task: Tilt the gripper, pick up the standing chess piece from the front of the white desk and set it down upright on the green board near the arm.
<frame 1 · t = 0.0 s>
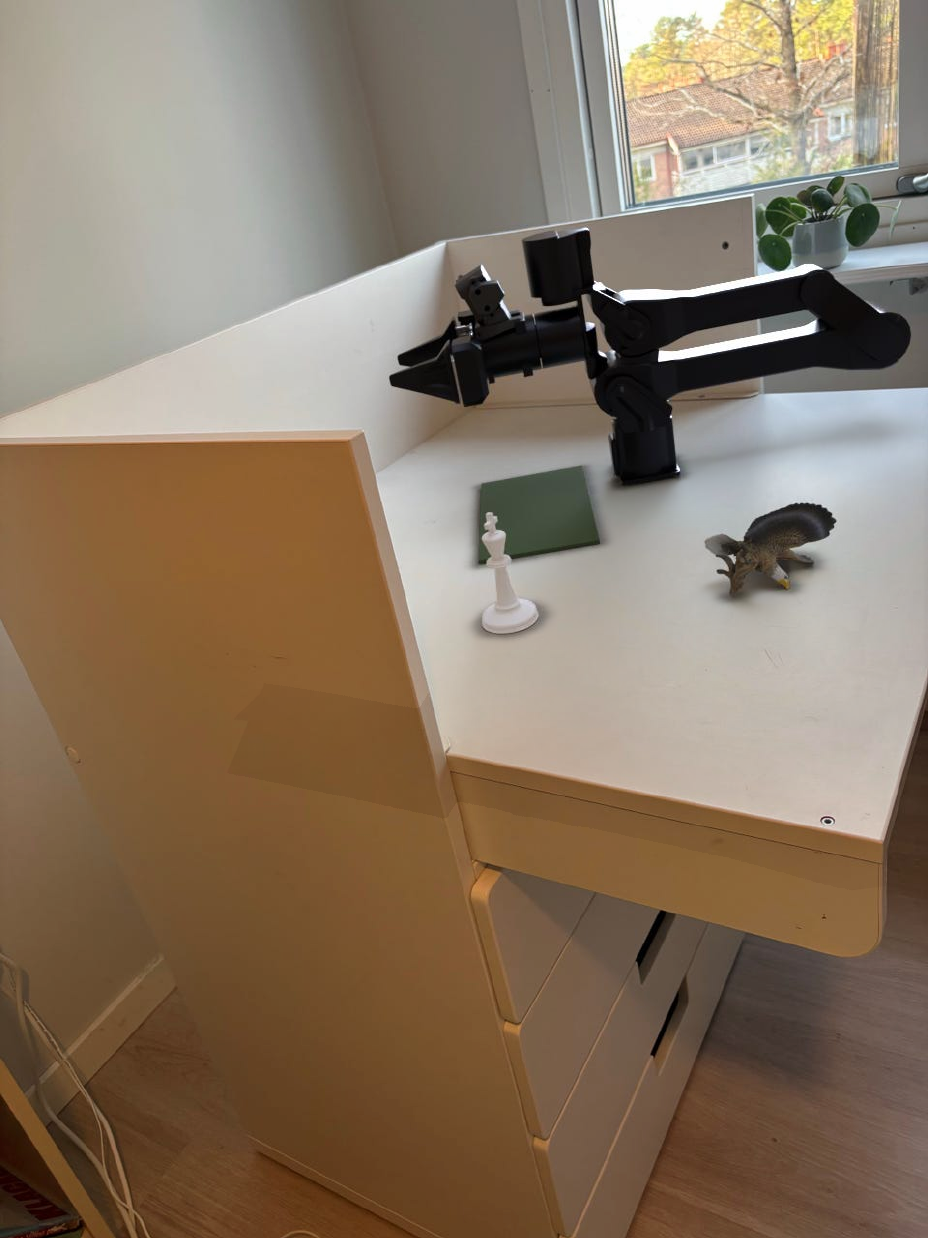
hand: (394, 370, 100), 17 cm above the table, tool horizontal, fingers open, 9 cm apart
chess piece: (510, 621, 80), on the table
eagle figurine: (771, 582, 77), on the table
green board: (535, 512, 101), on the table
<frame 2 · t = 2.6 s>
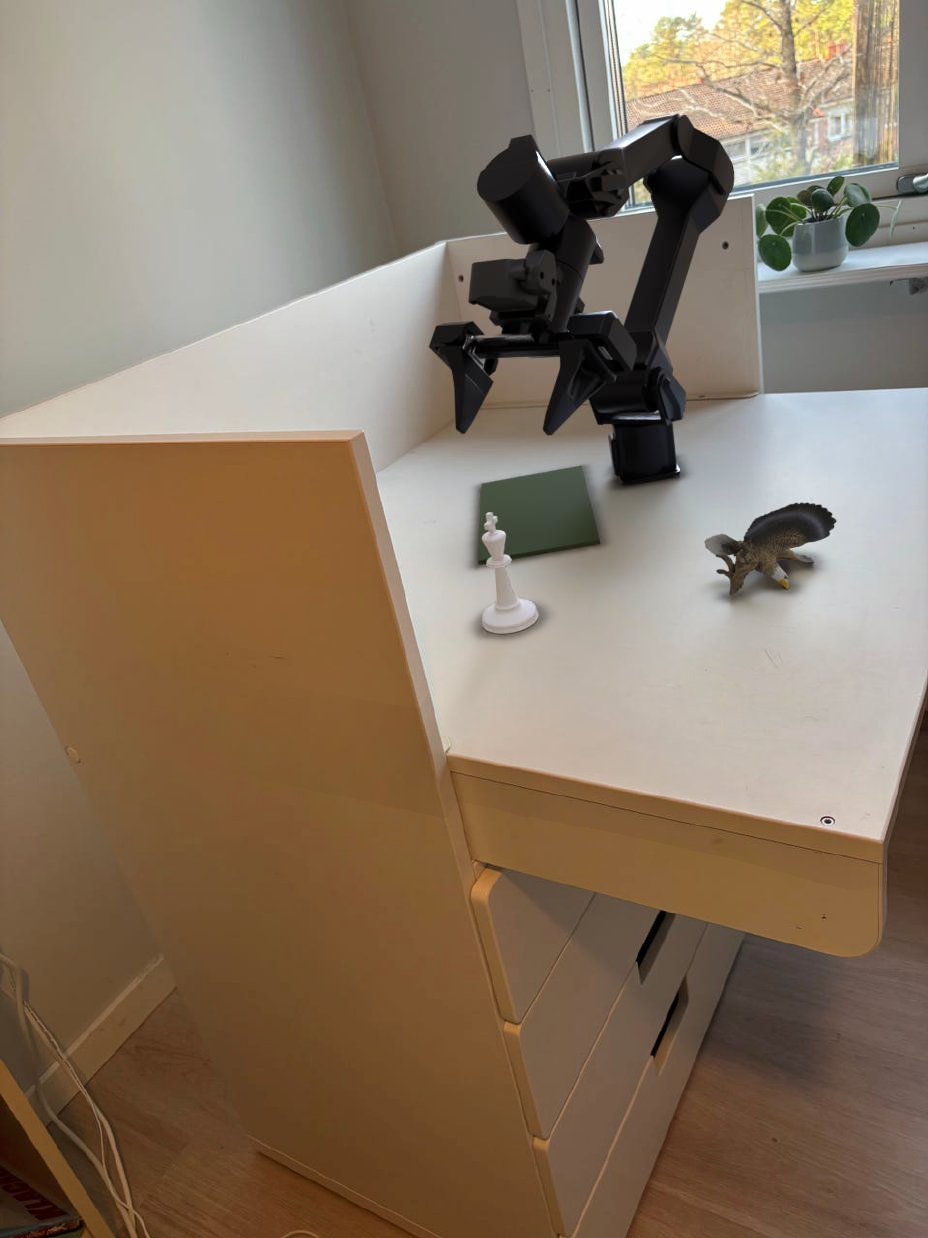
hand: (501, 432, 81), 14 cm above the table, tool tilted 50°, fingers open, 9 cm apart
nothing on the table moved.
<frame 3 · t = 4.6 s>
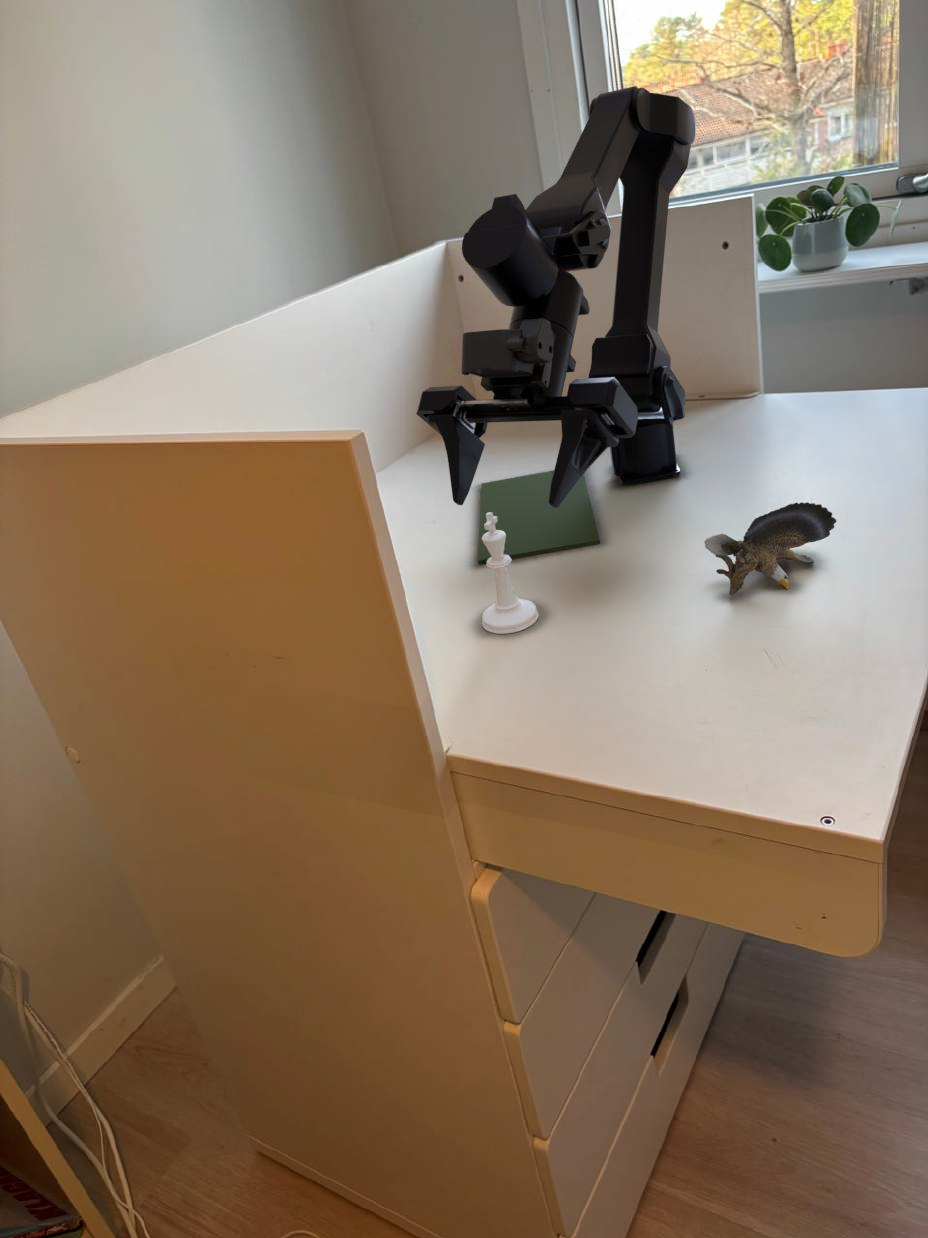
hand: (503, 504, 78), 10 cm above the table, tool tilted 45°, fingers open, 9 cm apart
nothing on the table moved.
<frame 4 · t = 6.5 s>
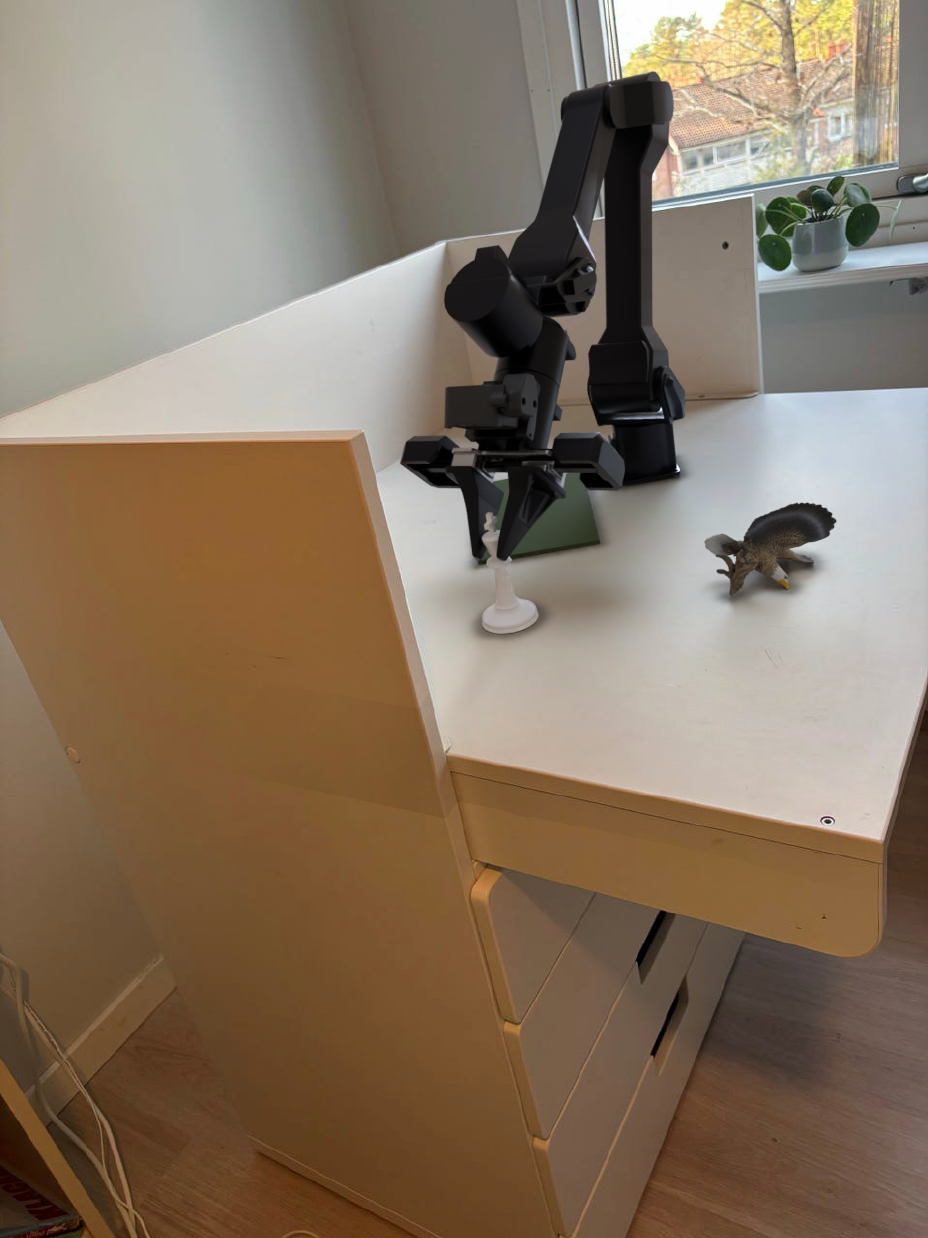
hand: (488, 558, 76), 7 cm above the table, tool tilted 45°, fingers closed on chess piece
chess piece: (510, 621, 80), on the table, touching gripper
everything else where it was.
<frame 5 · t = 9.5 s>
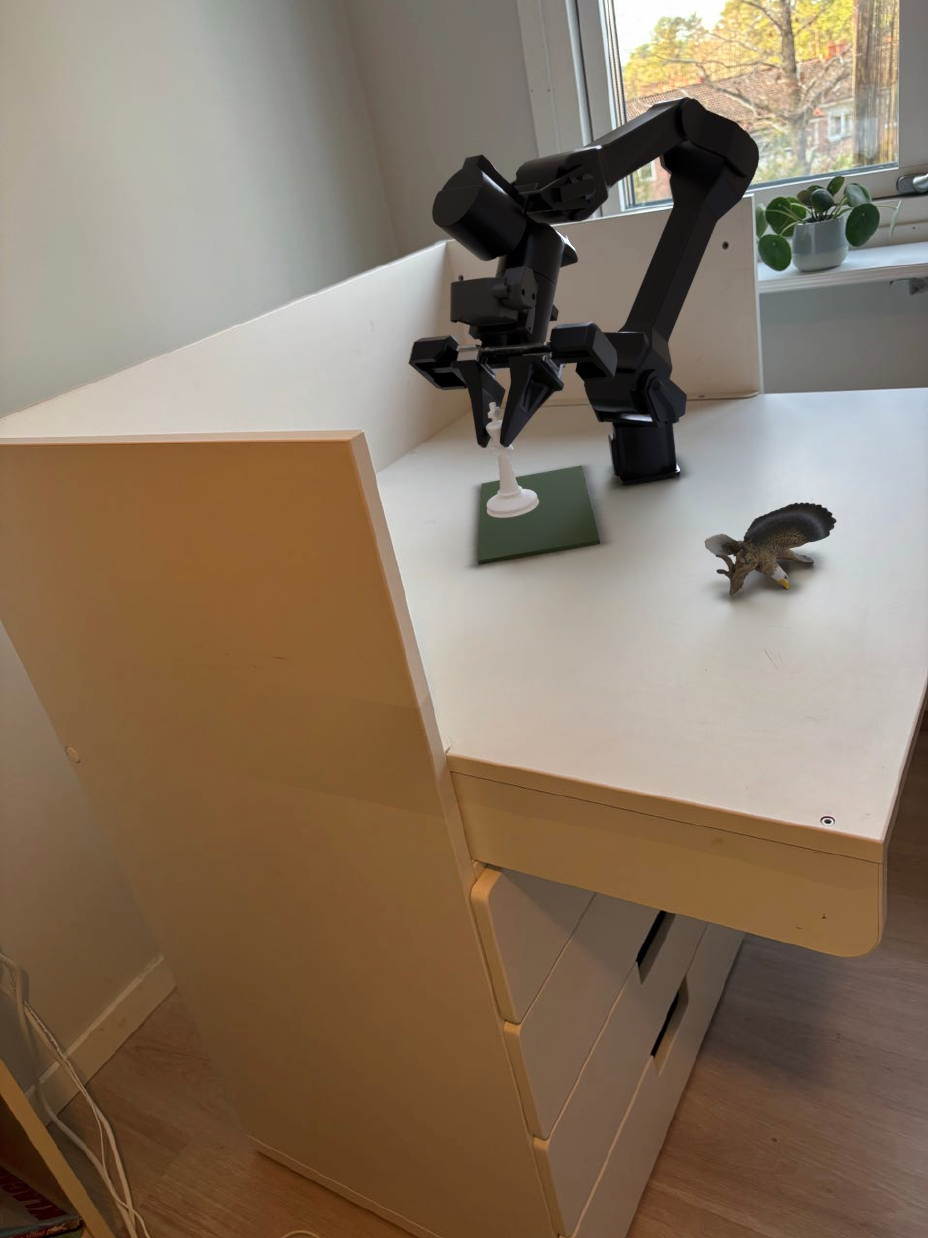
hand: (492, 445, 82), 13 cm above the table, tool tilted 45°, fingers closed on chess piece
chess piece: (513, 508, 87), point 6 cm above the table, touching gripper
everything else where it was.
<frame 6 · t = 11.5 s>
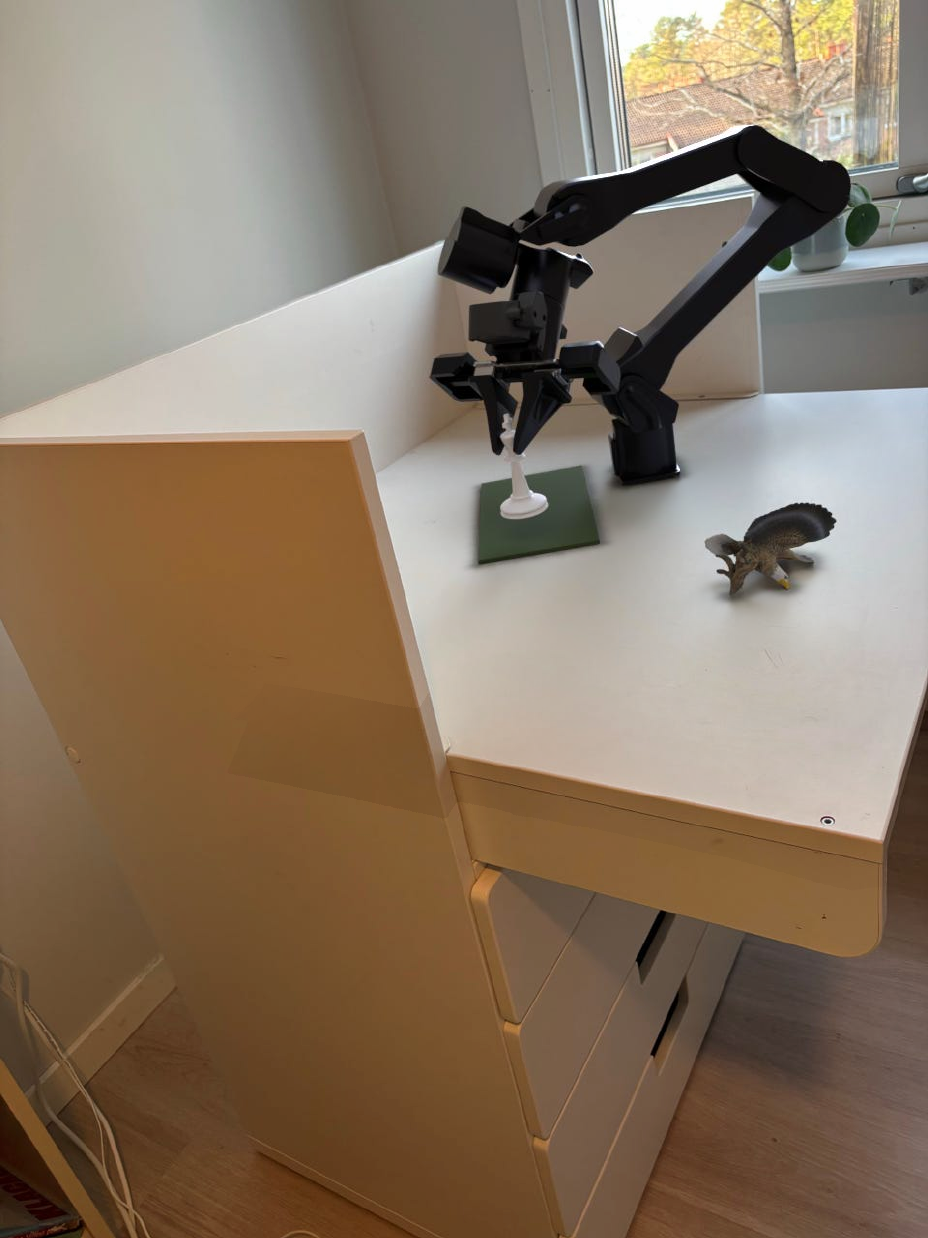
hand: (506, 453, 90), 9 cm above the table, tool tilted 45°, fingers closed on chess piece
chess piece: (524, 511, 94), point 3 cm above the table, touching gripper
everything else where it was.
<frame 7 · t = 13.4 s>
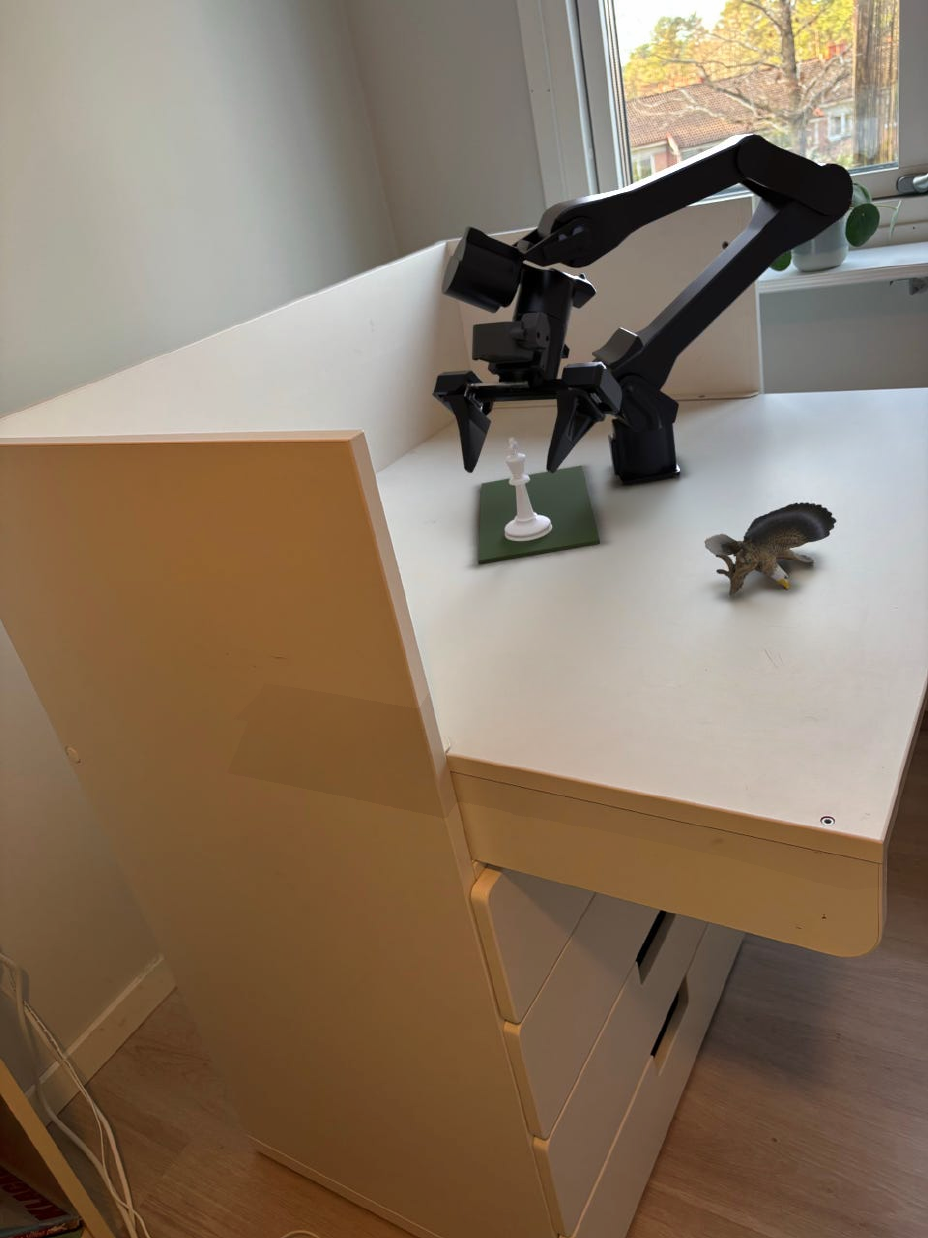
hand: (507, 471, 91), 8 cm above the table, tool tilted 45°, fingers open, 9 cm apart
chess piece: (528, 532, 95), resting on green board
everything else where it was.
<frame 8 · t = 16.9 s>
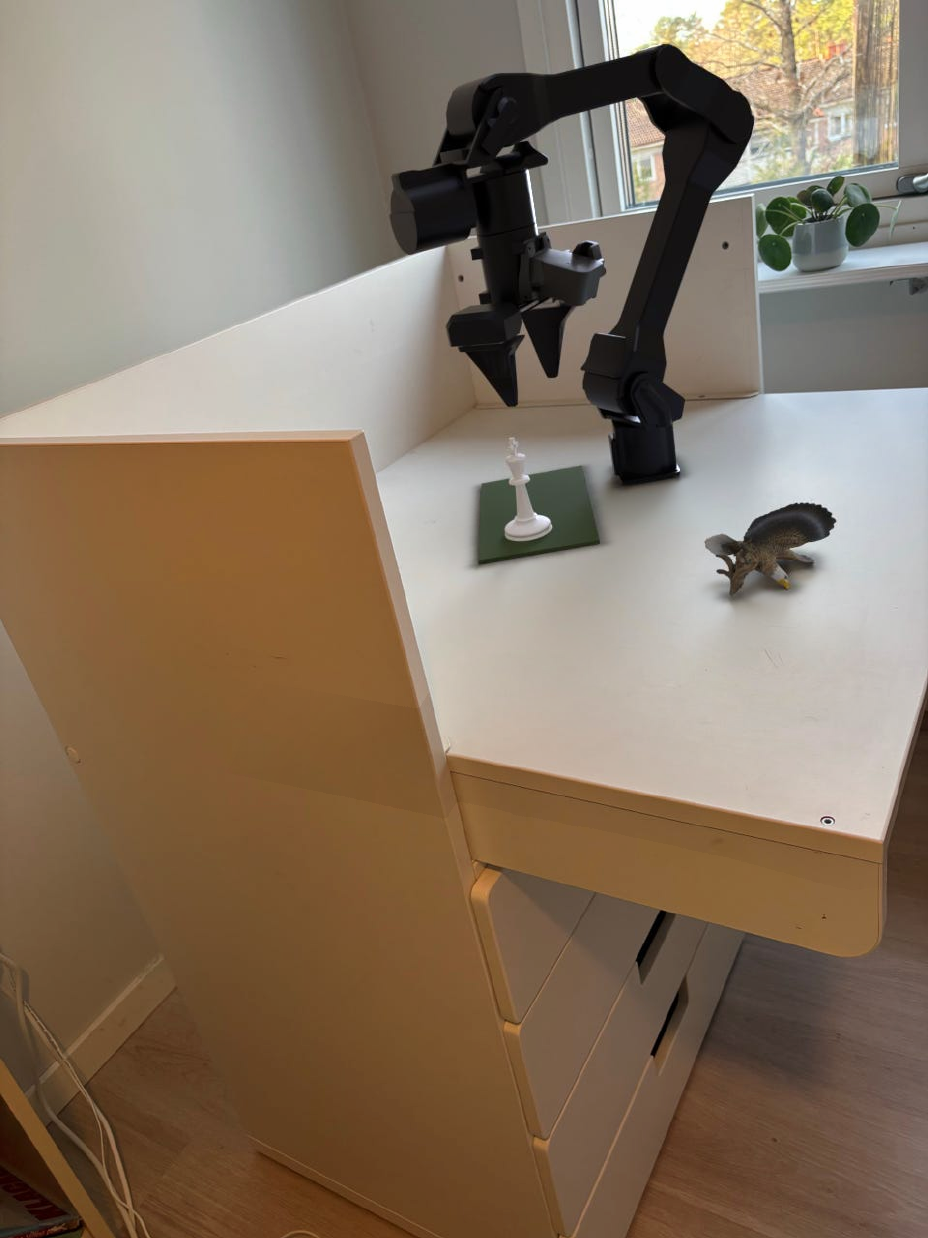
hand: (533, 391, 94), 13 cm above the table, tool pointing down, fingers open, 9 cm apart
nothing on the table moved.
at the end: chess piece inside the target area on the green board (6.0 cm from its centre), point 0.2 cm above the green board's base; chess piece tilted 0°; the gripper is holding nothing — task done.
